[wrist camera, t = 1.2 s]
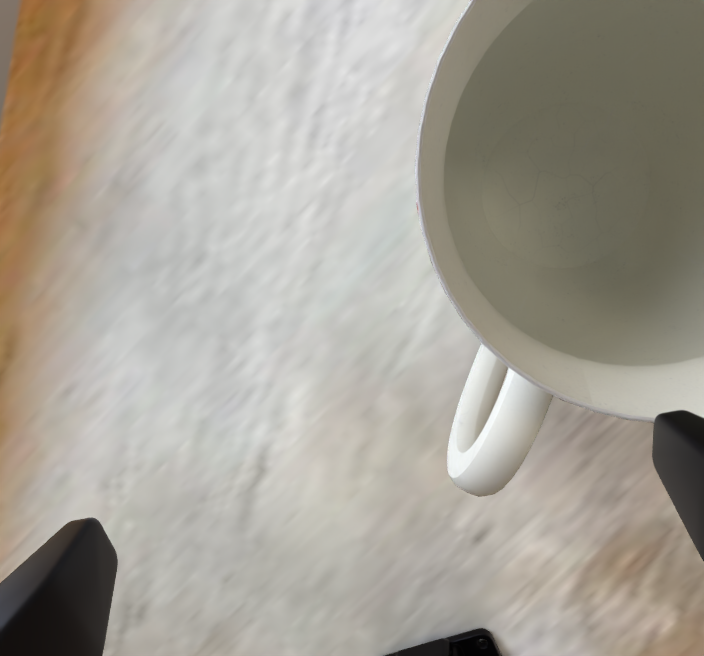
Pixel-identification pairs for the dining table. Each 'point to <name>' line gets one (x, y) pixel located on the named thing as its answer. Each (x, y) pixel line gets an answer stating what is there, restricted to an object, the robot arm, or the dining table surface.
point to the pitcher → (567, 215)
